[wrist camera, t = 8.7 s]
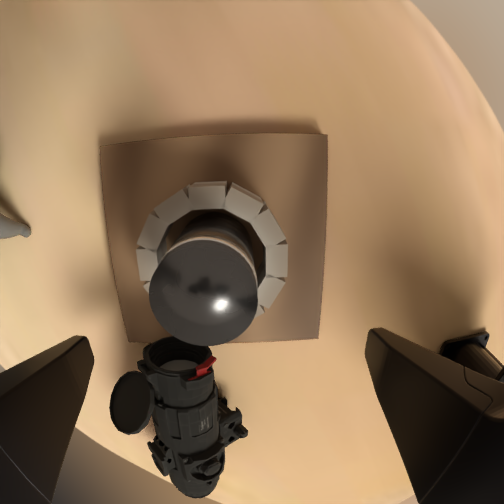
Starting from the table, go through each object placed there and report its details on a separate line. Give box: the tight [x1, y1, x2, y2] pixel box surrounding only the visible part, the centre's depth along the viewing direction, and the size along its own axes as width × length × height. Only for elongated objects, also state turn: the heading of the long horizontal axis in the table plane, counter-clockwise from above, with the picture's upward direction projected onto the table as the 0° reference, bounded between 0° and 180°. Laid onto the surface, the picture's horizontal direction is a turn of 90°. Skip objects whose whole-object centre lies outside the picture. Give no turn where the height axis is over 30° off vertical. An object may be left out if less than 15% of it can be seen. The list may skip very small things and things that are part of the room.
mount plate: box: [100, 133, 328, 343], centre depth 19 cm, size 14×14×4 cm
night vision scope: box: [109, 336, 248, 498], centre depth 21 cm, size 8×18×10 cm
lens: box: [149, 212, 258, 346], centre depth 16 cm, size 5×5×7 cm
